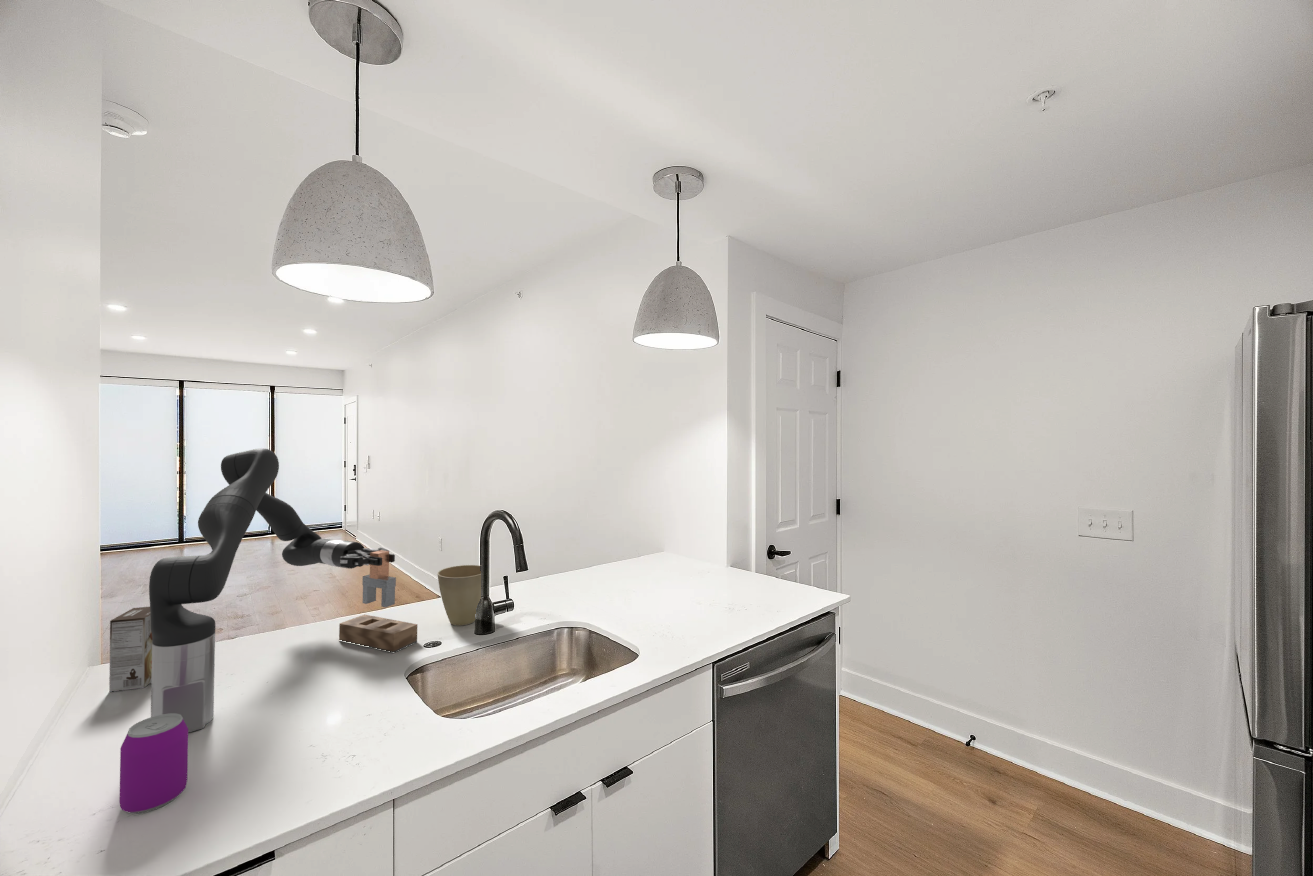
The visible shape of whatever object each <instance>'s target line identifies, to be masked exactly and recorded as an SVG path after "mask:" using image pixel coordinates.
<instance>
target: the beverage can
mask: <svg viewBox="0 0 1313 876" xmlns="http://www.w3.org/2000/svg"><path fill="white" fill-rule="evenodd" d="M119 749H120V751H119V753H120V754H119V755H120V757H119V759H120V760H119V800H118V801H119V808H120V810H121V811H124V812H126V813H130V814H134V815H135V814H136V815H137V814H144V813H149V812H152V811H155V810H158V809H160V808H162V807H165V806H166V805H168V804H170V803H171V802H173V801H174V800H176V799H177V798H178V797H179V796H180V795H181V794H182V792H184V791H185V789H186V787H187V783H188V767H189V766H188V765H189V762H188V761H189V759H188V756H189V755H188V754H189V732H188V727H187V725H186V723H185V722H184V720H183V717H182V716H181V715H180V714H177V713H170V714H162V715H158V716H154V717H151V716H150V717H147V718H145V719H143V720H140V721H138V722H136V723H134V724H133V725H132V726H130V727H129V728H128V730H127V734H126V735H125V738H124V740H123V741H122V744H121V746H120V748H119Z"/></svg>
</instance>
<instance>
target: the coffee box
mask: <svg viewBox="0 0 1313 876" xmlns="http://www.w3.org/2000/svg"><path fill="white" fill-rule="evenodd" d="M151 676H152V633H151V617H150V606H144V607H132V608H131V609H129V610H127V611H125V612H123V613H121V614H119V615H118V616H116V617H114V618H113V619H111V620H109V678H108V679H109V683H108V685H109V688H108V690H109V692H110V693H112V691H114V692H120V691H119V690H122V691H128V690H129V691H130V690H136V689H137V690H138V689H144V688H146V687H148V685H149V684H151Z"/></svg>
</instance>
